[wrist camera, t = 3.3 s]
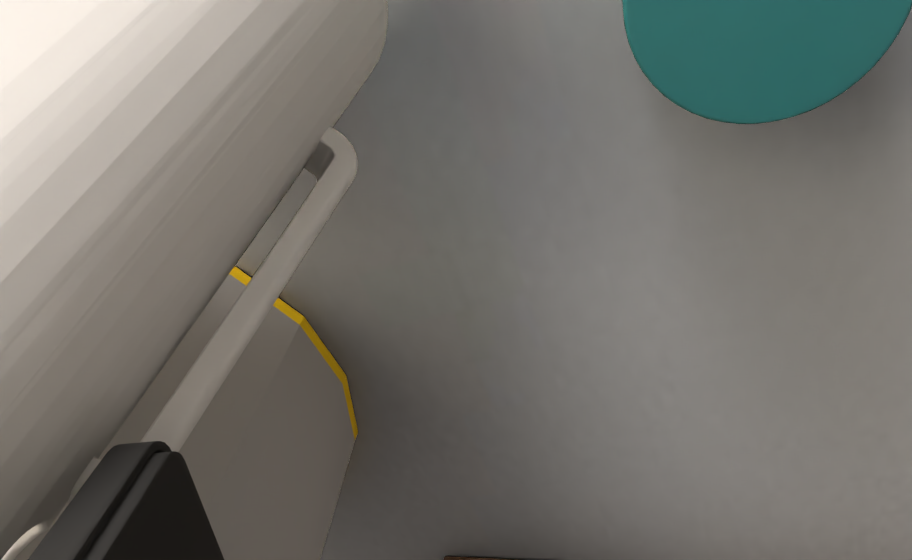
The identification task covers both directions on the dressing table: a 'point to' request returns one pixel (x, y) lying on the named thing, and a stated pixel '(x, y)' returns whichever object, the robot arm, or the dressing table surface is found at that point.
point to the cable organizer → (150, 207)
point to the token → (759, 52)
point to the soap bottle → (259, 434)
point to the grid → (470, 559)
